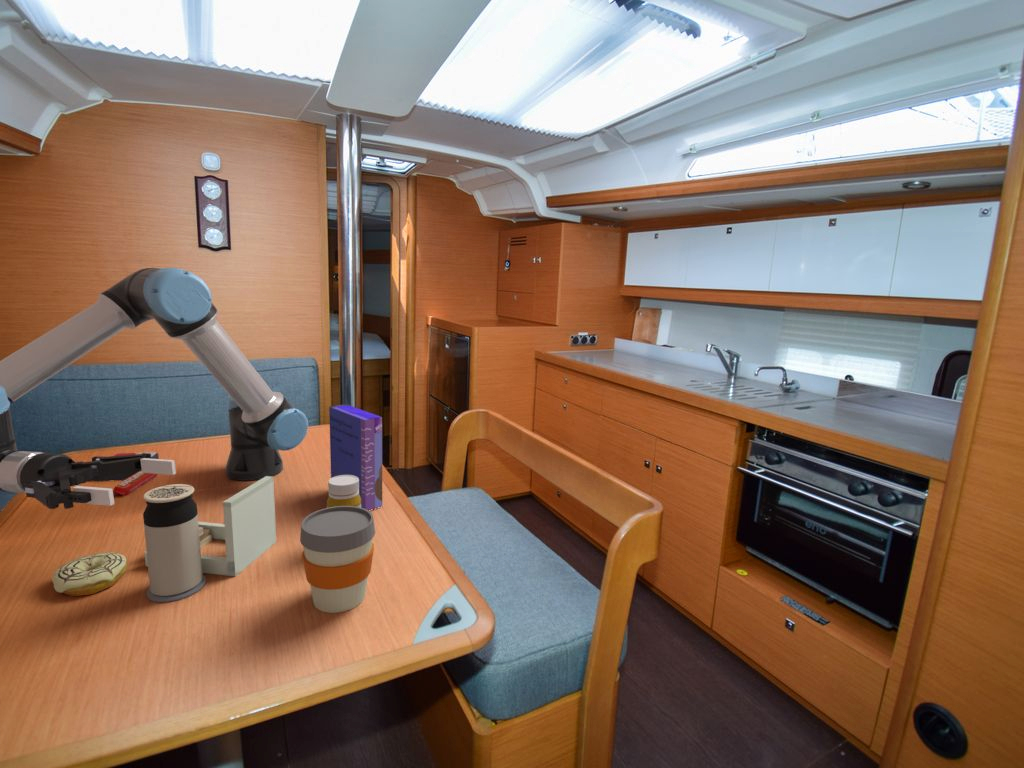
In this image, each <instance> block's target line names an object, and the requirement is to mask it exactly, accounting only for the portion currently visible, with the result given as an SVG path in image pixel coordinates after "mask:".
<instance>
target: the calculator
mask: <svg viewBox="0 0 1024 768" xmlns="http://www.w3.org/2000/svg"><path fill="white" fill-rule="evenodd" d="M142 453H150V454H151V459H159V453H158V452H157V453H156V451H147V452H145V451H144V452H137V453H136V452H125V453H116V454H115V455H113V456H122V455H134V454H142ZM137 472H139V471H136V472H129V473H123V474H116V475H109V476H104V477H103V479H100V480H93V481H97V482H109V481H110V480H114V481H124V480H126V479H127V478H129V477H131V476H132V475H134V474H136V473H137ZM96 475H98V471H97V470H94V476H96ZM110 482H111V481H110Z"/></svg>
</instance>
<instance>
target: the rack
mask: <svg viewBox="0 0 1024 768" xmlns="http://www.w3.org/2000/svg"><path fill="white" fill-rule="evenodd" d="M274 485H275V484H274V476H265V477H264V478H262V479H258V480H257V481H255V482H254V483H252V484H250V485H249V486H248V487H246V488H244V489H241V490H240V491H239V492H237V493H235V494H234V495H232V496H231V497H229V498H227V499H225V500H224V501H222V507H223V510H222V511H223V523H218V522H215V523H214V522H207V521H206V522H205V521H198V525H199V527H202V528H203V529H210V535H212V540H214V539H215V540H223V541H225V556H216V555H215V556H214V555H209V554H207V555H206V554H201V565H202V574H211V575H217V576H218V575H220V576H228V577H236V576H238V575H239V574H241V572H242V571H244V570H245V569H246V568H247V567H249V566H250V565H251V564H252V563H253V562H255V561H256V560H257V559H258V558H259V557H260V556H262V555H263V554H264V553H265V552H266V551H268V550H269V549H270V548H271V547H273V546H274V545H275V544H277V532H276V531H277V529H276V528H277V527H276V526H277V525H276V507H275V491H274V490H275V486H274ZM143 554H144V562H145V564H144V565H145V567H147V568H148V561H147V551H144V553H143Z"/></svg>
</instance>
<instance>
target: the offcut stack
mask: <svg viewBox="0 0 1024 768" xmlns="http://www.w3.org/2000/svg"><path fill="white" fill-rule="evenodd" d="M199 538H200V549H202V548H203V547H204V546H206V545H207V544H209V543H210V542H212V541H213V539H212V535H210V529H203V528H202V527H199Z"/></svg>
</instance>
